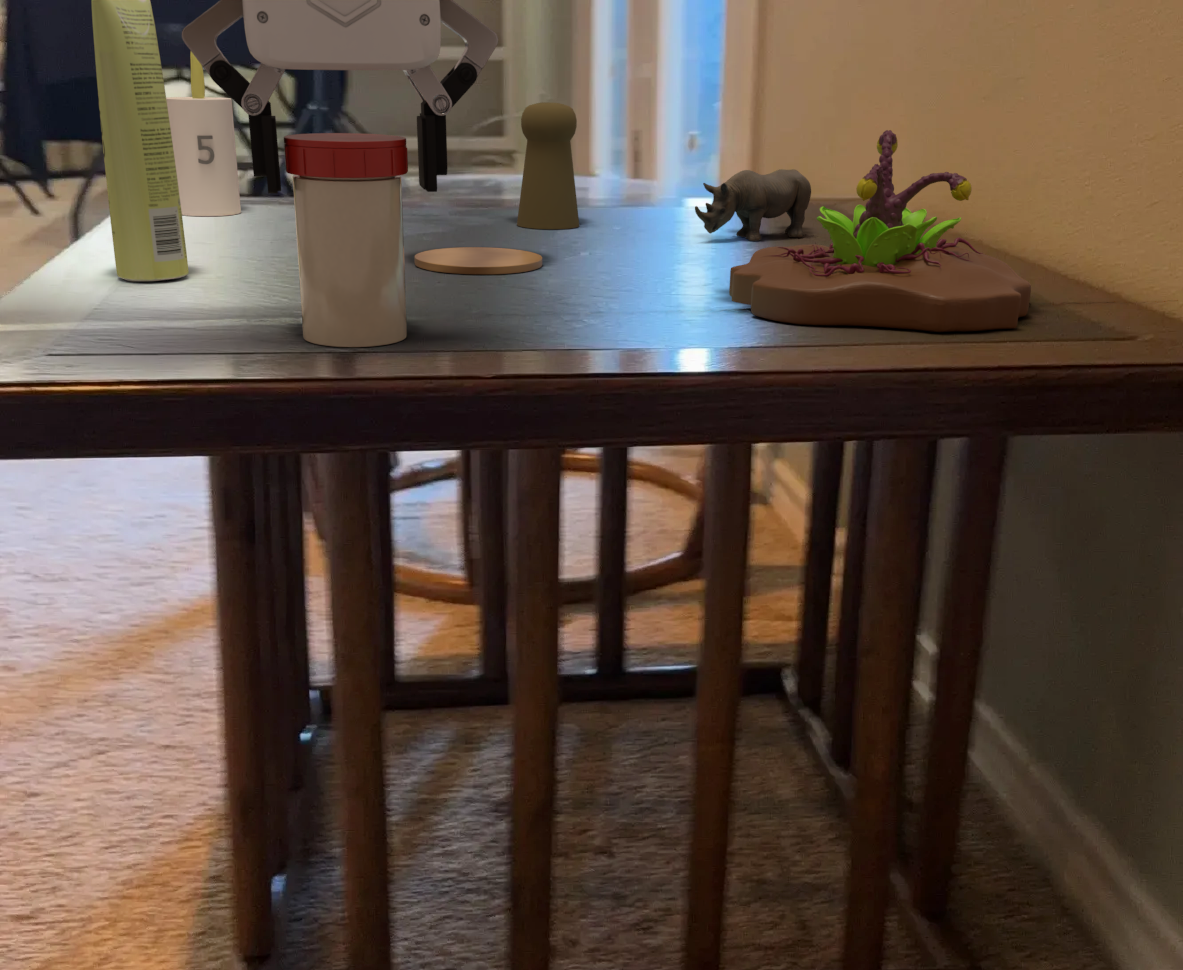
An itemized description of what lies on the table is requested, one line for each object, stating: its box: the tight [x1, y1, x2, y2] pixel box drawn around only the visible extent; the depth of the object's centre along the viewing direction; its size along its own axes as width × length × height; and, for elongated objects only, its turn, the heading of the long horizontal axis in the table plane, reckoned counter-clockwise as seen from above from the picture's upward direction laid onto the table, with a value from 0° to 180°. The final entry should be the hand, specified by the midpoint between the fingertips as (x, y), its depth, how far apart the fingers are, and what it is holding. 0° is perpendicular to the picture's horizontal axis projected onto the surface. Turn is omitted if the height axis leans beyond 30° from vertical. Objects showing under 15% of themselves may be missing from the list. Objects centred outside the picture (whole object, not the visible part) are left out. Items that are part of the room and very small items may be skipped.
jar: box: [292, 174, 408, 348], centre depth 74 cm, size 6×6×11 cm
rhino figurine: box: [694, 168, 812, 242], centre depth 117 cm, size 4×14×6 cm, turn 124°
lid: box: [283, 132, 409, 178], centre depth 72 cm, size 7×7×2 cm
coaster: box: [414, 246, 543, 276], centre depth 101 cm, size 10×10×1 cm
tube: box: [91, 0, 190, 282], centre depth 89 cm, size 6×5×20 cm
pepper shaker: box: [516, 101, 580, 230], centre depth 122 cm, size 6×6×11 cm
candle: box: [166, 51, 242, 217], centre depth 124 cm, size 6×6×15 cm
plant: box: [728, 129, 1032, 333], centre depth 87 cm, size 20×20×11 cm
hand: (352, 188), depth 72 cm, fingers open, 8 cm apart
